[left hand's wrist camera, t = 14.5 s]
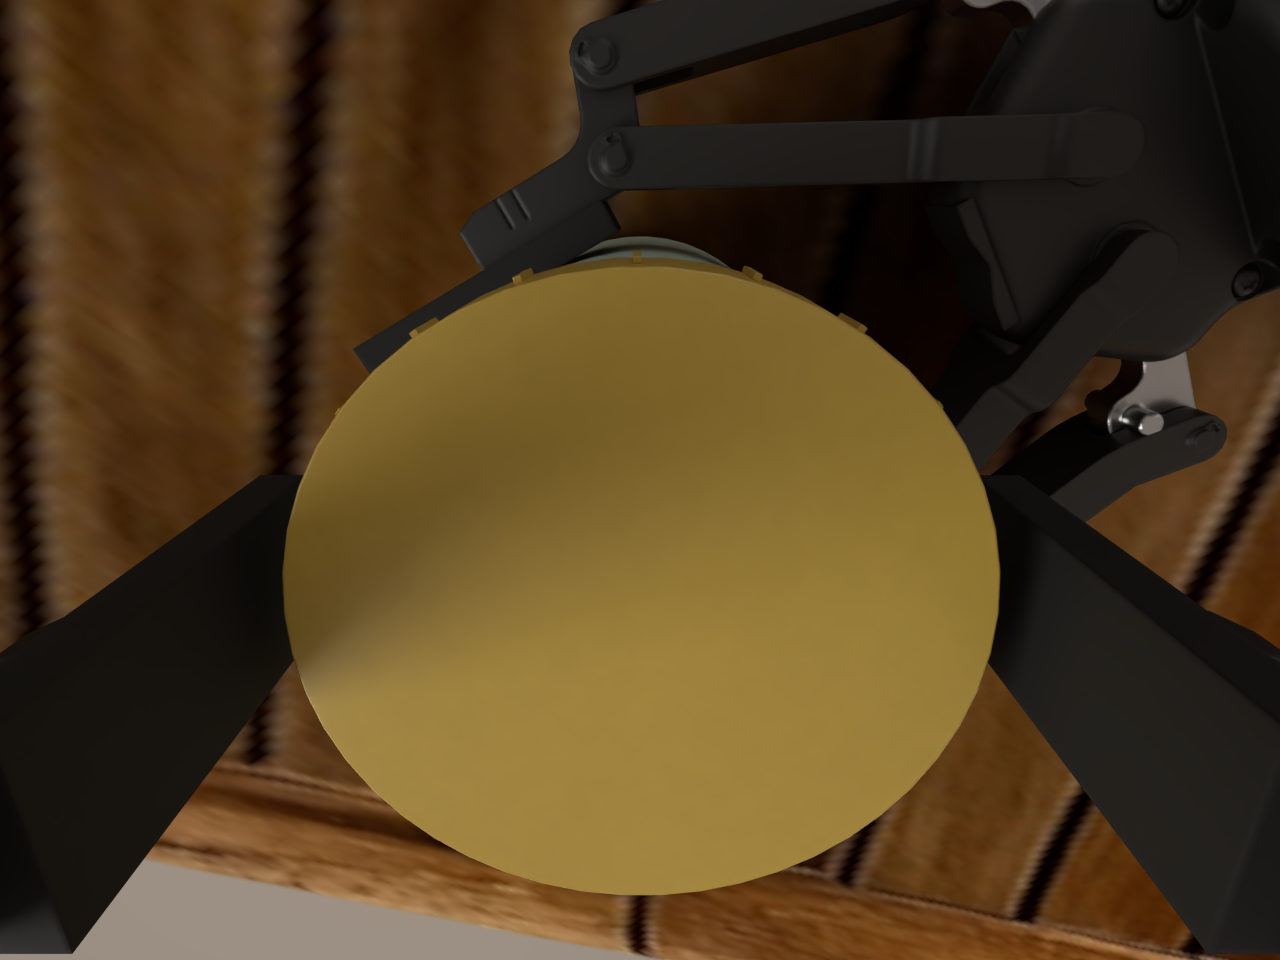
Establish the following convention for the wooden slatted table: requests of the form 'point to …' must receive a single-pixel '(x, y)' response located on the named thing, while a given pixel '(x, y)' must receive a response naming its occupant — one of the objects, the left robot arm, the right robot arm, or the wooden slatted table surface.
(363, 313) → the wooden slatted table surface
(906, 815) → the wooden slatted table surface
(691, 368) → the lid
